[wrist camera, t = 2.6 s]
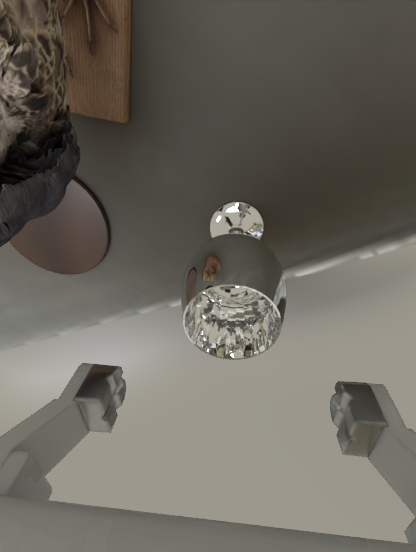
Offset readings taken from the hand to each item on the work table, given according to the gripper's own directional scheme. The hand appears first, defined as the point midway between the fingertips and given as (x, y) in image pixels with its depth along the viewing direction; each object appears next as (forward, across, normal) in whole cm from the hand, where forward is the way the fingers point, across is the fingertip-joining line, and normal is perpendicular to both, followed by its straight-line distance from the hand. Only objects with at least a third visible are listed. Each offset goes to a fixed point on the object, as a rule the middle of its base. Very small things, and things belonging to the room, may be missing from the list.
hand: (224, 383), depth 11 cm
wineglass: (+15, 0, 0) cm, 15 cm away
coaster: (+15, +16, 0) cm, 22 cm away
